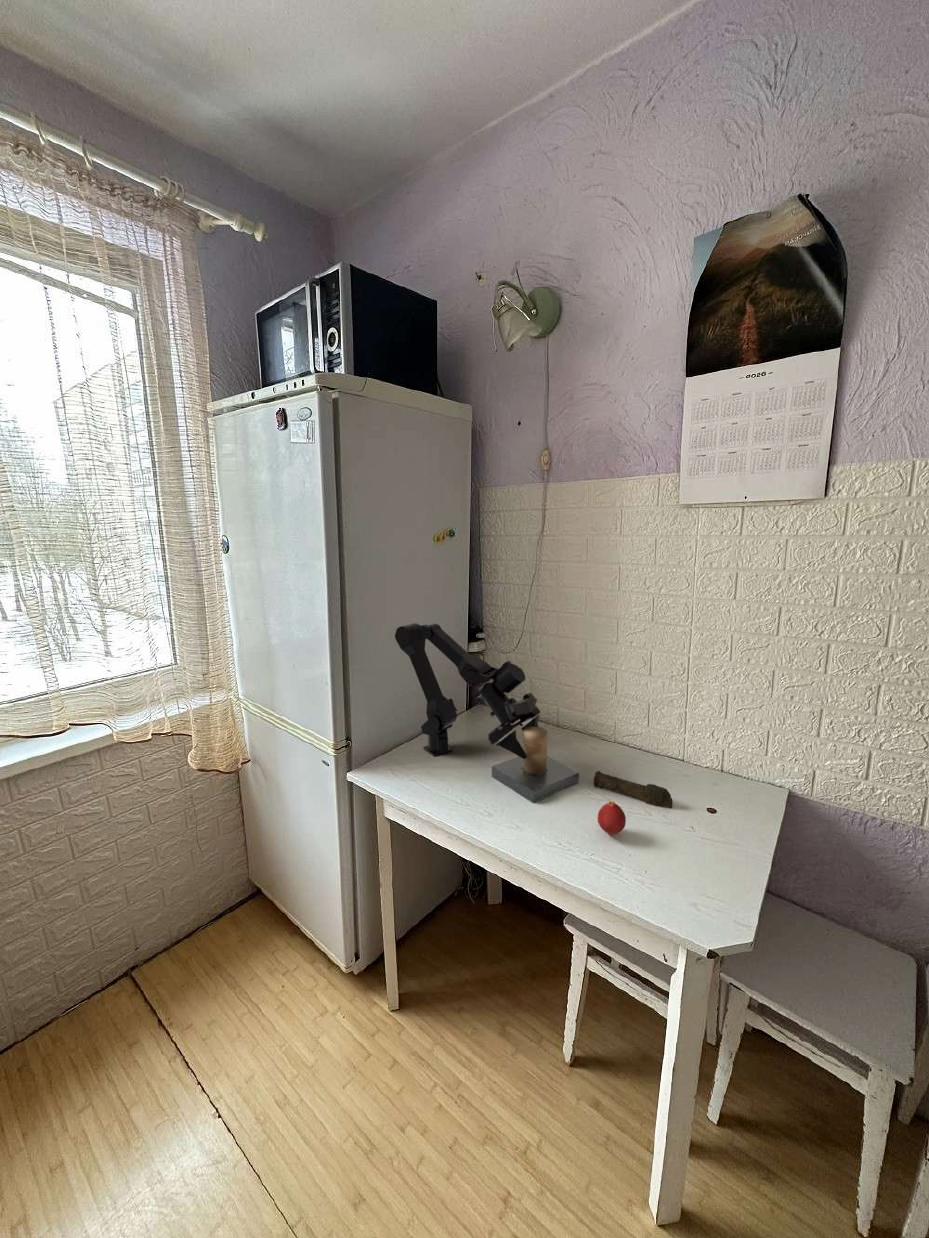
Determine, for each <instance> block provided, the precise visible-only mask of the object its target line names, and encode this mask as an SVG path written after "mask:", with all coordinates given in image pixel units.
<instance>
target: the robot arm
mask: <svg viewBox="0 0 929 1238" xmlns="http://www.w3.org/2000/svg"><path fill="white" fill-rule="evenodd" d="M394 639H395V641H396V643H397V645H398V646H399V648H400V650H401V651H403V652H404V654H406V655H407V656H408V657H409V659H410V662H411V665H412V667H413V669H414V672H415V674H416V678H417V679H418V680H417V681H418V682H419V685H420V687H421V690H422V692H423V695H424V697H425V699H426V700H425V701H426V712H425V713H426V716H427V717H426V718H427V720H426V721H425V722H424V723H422V724H421V726H420V729H421V731H422V734H423V735H426V736H427V745H426V746H423V747H422V748H423V750H424V751H426V752H427V753H429V754H430V755H431V756H433V757H436V756H439V755H440V756H441V755H442V754H446V753H450V752H452V751H453V748H452V747H450V746H449V737H448V736H449V735H448V734H449V733H448V729H450V728H452V727H453V724H454V723H455V722H456V721H457V718H458V713H457V711H458V709H457V708H456V706H455V704H454V700H453V698H449V699H448V698H446V697H445V695H443V692H442V690H441V687H440V684H439V683H438V680H437V677H436V675H435V672H434V670H433V668H432V665H431V663H430V660H429V657H428V654H427V653H426V652H427V651H426V640H428V641H429V642H430V643H431V644H432V645H433V646H434V647H435V648H437V649H438V650H439V652H441V653H442V654H443V655H444V656H445V657H446V658H447V659H448V660H449V661H450V662H451V663H453V664H454V665H455V667H456V668H457V671H458V673H459V676H460V677H461V679H463V681H464V682H465V683H466V684H467V685H468V686H470V687H475V688H474V691H475V692H474V696H473V699H475V700H476V699H479V698H480V697H481V698H482V699H483V701H484V702H485V703H486V705H487V706H488V708H489V709H490V710H491V712H490V713H489V714H490V716H491V717H494V716H495V718H497V720H498V721H499V723H500V724H499V725H497V727H495V728H494V729H493V730H492V731H491V732H490V733H488V734H487V740H488V741H489V743H490V744H491V746H493V745H495V746H496V747H501V748H503V749H505V750H507V751H509V752H511V753H512V754H514V755H516V756H517V757H521V758H523V759H525V758H527V755H526V753H525V752H524V747H523V746H522V745H521V744H520V742H519V740H518V739H517V730H514V729H516V728H518V727H519V726H520V728H521V727H522V728H521V730H522V731H523V732H524V729H526V728H528V727H539V719H540V717H541V716H540V713H541V711H540V709H539V708H538V707H537V705H536V704H537V702H538V700H537V698H536V697H535V696H534V695H533V694H532V692H528V693H525V694H523V696H522V699H520V700H516V698H514V697H513V696H512V697H509V696H508V695H507V694H510V693H512V692H513V691H514V690H515V689H516V688H518V687H519V686H520V685H521V684H523V683H524V681H526V675H525V672H524V671H523V669H522V668H521V667H519V666H518V665H516V664H514V663H512V662H511V661H510V660H507V661H504V662H503V663H502V664H501V666H500V667H499V668H498V667H495V666H491V665H490V664H489V663H488V662H487V661H485V660H483V659H482V658H480V657H479V656H477V655H473V654H470V653H469V652H468V651H466V650H465V649H464V648H463V647H462V645H460V644H459V643H457V642H456V641H455V640H454V639H453V638H452V637H451V636H450V635H449V634H448V633H447V632H446V631H445V630H443V629H442V627H441V626H440V624H437V623H431V624H423V625H421V624H419V623H416V622H413V623H409V624H405V625H402V626H398V627H397V628H396V630H395V633H394ZM491 680H492V681H491ZM490 681H491V682H490ZM481 684H483V685H482V686H479V685H481ZM477 686H478V687H477Z"/></svg>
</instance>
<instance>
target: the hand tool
mask: <svg viewBox="0 0 929 1238" xmlns="http://www.w3.org/2000/svg"><path fill="white" fill-rule="evenodd" d="M592 781H593V786H594V788H596V787H597V788H599V789H606V790H610V791H613V792H616V793H618V794H622V795H626V796H630V797H631V798H636V799H639V800H642V801H644V802H645V804H646V805H650V806H655V807H660V808H665V809H666V808H667V809H671V808H673V804H674V801H673V798H672V795H671V793H670V792H669V791H668V789H667V788H666V787H663V786H662V787H661V786H659V785H656V784H653V783H647V784H646V785H645V784H644V785H643V784H640V783H636V782H633V781H631V780H627V779H626V780H625V779H623V778H619V777H617V776H613V775H610V774H606V773H603V772H601V771H600V770H597V771H596V772H595V773H594V776H593V780H592Z"/></svg>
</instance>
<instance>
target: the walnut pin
mask: <svg viewBox="0 0 929 1238" xmlns="http://www.w3.org/2000/svg"><path fill="white" fill-rule="evenodd" d="M523 750H524V752H525V753H526V755H527V758H525V759H523V770H524V771H525V772H526V773H529V774H532V775H534V776H535V775H540V774H543V773H545V772H546V765H547V756H548V754H547V753H548V730H547V729H546V728H544V727H540V726H538V727H528V728H526V729H524V731H523Z"/></svg>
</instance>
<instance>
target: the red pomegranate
mask: <svg viewBox="0 0 929 1238" xmlns="http://www.w3.org/2000/svg"><path fill="white" fill-rule="evenodd" d="M626 821H627V819H626V814H625V812H624V810H623V809H622V808H621V806H619V804H617V803H616V802H615V801H614V800H609V801H608V803H605V804H603V805H602V806H601V807H600V809H599V810H598V813H597V823H598V826H599V827H600V828H601V830H602V831H603V832H605V833H606V834H607V835H609V836H614V835H617V834H620V833H621V832H622V831H623V830H624V829H625V827H626Z"/></svg>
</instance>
